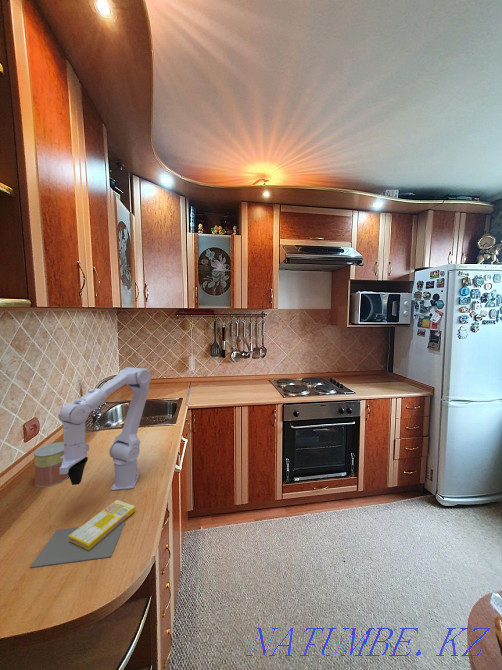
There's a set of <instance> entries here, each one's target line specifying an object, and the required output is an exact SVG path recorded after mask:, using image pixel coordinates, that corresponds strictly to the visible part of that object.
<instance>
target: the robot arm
mask: <svg viewBox="0 0 502 670" xmlns="http://www.w3.org/2000/svg"><path fill="white" fill-rule="evenodd" d="M151 379H152V374H151V372H150V371H149V369H147V368H145V367H143V368H140V367H133V366H126V367H124V368H123V369H121V370H120V371H119V373H118V374H117V375H116V376H114V377H113V378H112V379H110V380H109V381H108V382H106V383H105V384H104V385H102V386H101V387H100V388H96V387H95V388H91V389H89V390H87V392H86V393H85V394H83V395H82V396H81V397H79V398H76V399H74V401H73V402H69V403H66V404H64V405H63V406H62V408H61V409H60V410H59V413H58V414H57V417H58V420H59V421H60V422H62V430H63V442H64V455H63V456H61V457H60V459H61V460H63V462H62V465H61V467H60V468H59V471H60V474H68V476H69V480H70V483H71V485H72V486H76V485H80V484H81V482H82V480H83V474H84V471H85V466H86V465H87V462H88V461H89V457H88V456H87V455H88V452H89V450H90V445H89V444H86V441H87V440H86V421H87V419H88V418H89V415H91V413H92V412H93V411H94V410H95V409H97V408H98V407H99V406H101V405H102V404H103V403H105V402H106V400H107V396H109V395H111V394H112V393H114V392H115V391H117V390H118V389H120V388H122V387H123V386H125V385H126V386H128V387H129V388H130V389H131V390H132V397H131V399H130V402H129V406H128V410H127V412H126V417H125V420H124V423H123V426H122V431H121V433H120V434H118V435H117V436H116V437H114V441H113V443H112V444H111V445H110V447H109V453H108V454H109V456H110V458H112V461H113V466H114V467H113V468H114V469H113V470H114V483H112V484H113V485H112V486H111V487H110V491H117V490H126V489H127V490H128V489H129V490H130V489H134V488H135V486H136V484H137V482H138V479H139V477H140V475H141V473H140V472H138V457H139V455H140V450H141V449H140V444H141V441H140V439H139V437H138V435H137V434H138V431H139V427H140V423H141V420H142V416H143V413H144V409H145V405H146V403H147V398H148V395H149V391H150V384H151Z"/></svg>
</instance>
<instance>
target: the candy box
mask: <svg viewBox="0 0 502 670" xmlns="http://www.w3.org/2000/svg"><path fill="white" fill-rule="evenodd" d="M135 512H136V506H135V505H134V504H133V505H132V504H130V503H127V502H124V501H122V500H119V499H116V500H115V501H113V502H112V503H110V504H109V505H108V506H106V507H105V508H103V509H102V510H101V511H99V512H98V513H97V514H95V515H94V516H93V517H91V518H90V519H89V520H88V521H86V522H85V523H84V524H82V525H80V526H78V527H79V528H78V529H76V530H75V531H74V532H72V533H71V534H70V535H69V536H68V537H69V541H70V542H72V543H74V544H76V545H78V546H80V547H83V548H85V549H87V550H90V549H91V548H92V547H94V546H95V545H96V544H97V543H98V542H99V541H101V540H102V539H103V538H104V537H105V536H106V535H107V534H109V533H110V532H111V531H112V530H113V529H114V528H116V527H117V526H118V525H119V524H120V523H121V522H125V520H127V519H128V517H130V516H131V515H133V513H135Z"/></svg>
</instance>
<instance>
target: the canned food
mask: <svg viewBox="0 0 502 670" xmlns="http://www.w3.org/2000/svg"><path fill="white" fill-rule="evenodd" d="M63 455H64V441H59V442H53V443H52V442H51V443H48V444H46V445H42V446H40V447H39V448H37V449H35V451H33V461H34V463H33V464H34V478H35V479H34V482H35V483H34V485H35V486H36V487H38V488H47V487H53V486H56V485H59V484H61V483H63V482H65V481H66V480H68V479H67V478H68V477H69V476H68V474H60V471H59V468H60V467H61V465H62V462H63V460H61V459H60V457H61V456H63Z"/></svg>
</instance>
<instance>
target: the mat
mask: <svg viewBox="0 0 502 670" xmlns="http://www.w3.org/2000/svg"><path fill="white" fill-rule="evenodd" d="M125 523H126V521H123V522H121V523H120V524H119V525H118V526H117V527H116V528H114V529H113V530H112V531H111V532H110V533H109V534H107V535H106V536H105V537H104V538H103V539H102V540H101V541H99V542H98V543H97V544H96V545H95V546H94V547H92V548H91V549H90V550H87V549H85V548H83V547H80V546H78V545H76V544H74V543H72V542H70V541H69V537H68V536H69V535H70V534H71V533H72V532H74V531H75V530H76V529H78V528H79V527H80V526H77V527H70V528H61V529H56V530H55V531H54V533H53V534H52V536H51V537H50V539H49V540H48V541H47V543H46V544H45V545H44V547H43V548H42V550H41V551H40V552H39V554H37V556H36V558H35V560H33V562H32V564H31V565H29V569H34V568H40V567H41V568H42V567H49V566H50V567H51V566H55V565H63V564H71V563H79V562H87V561H95V560H100V559H108V558H112V556H113V553H114V551H115V548H116V546H117V544H118V543H119V539H120V536H121V534H122V531H123V529H124V526H125Z"/></svg>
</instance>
